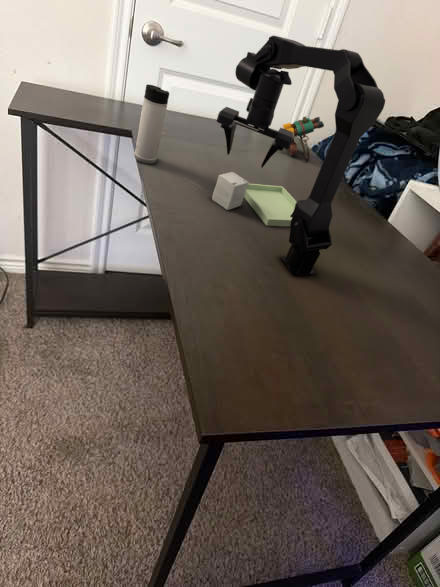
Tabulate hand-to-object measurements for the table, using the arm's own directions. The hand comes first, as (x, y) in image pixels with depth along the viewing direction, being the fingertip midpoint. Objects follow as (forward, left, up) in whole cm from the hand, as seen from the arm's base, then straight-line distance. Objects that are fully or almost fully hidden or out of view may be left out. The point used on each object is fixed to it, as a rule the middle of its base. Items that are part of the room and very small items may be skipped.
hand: (245, 160), depth 109 cm
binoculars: (+41, -44, -13) cm, 62 cm away
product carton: (0, +2, -13) cm, 13 cm away
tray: (-1, -13, -12) cm, 18 cm away
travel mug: (+22, +19, -13) cm, 31 cm away
